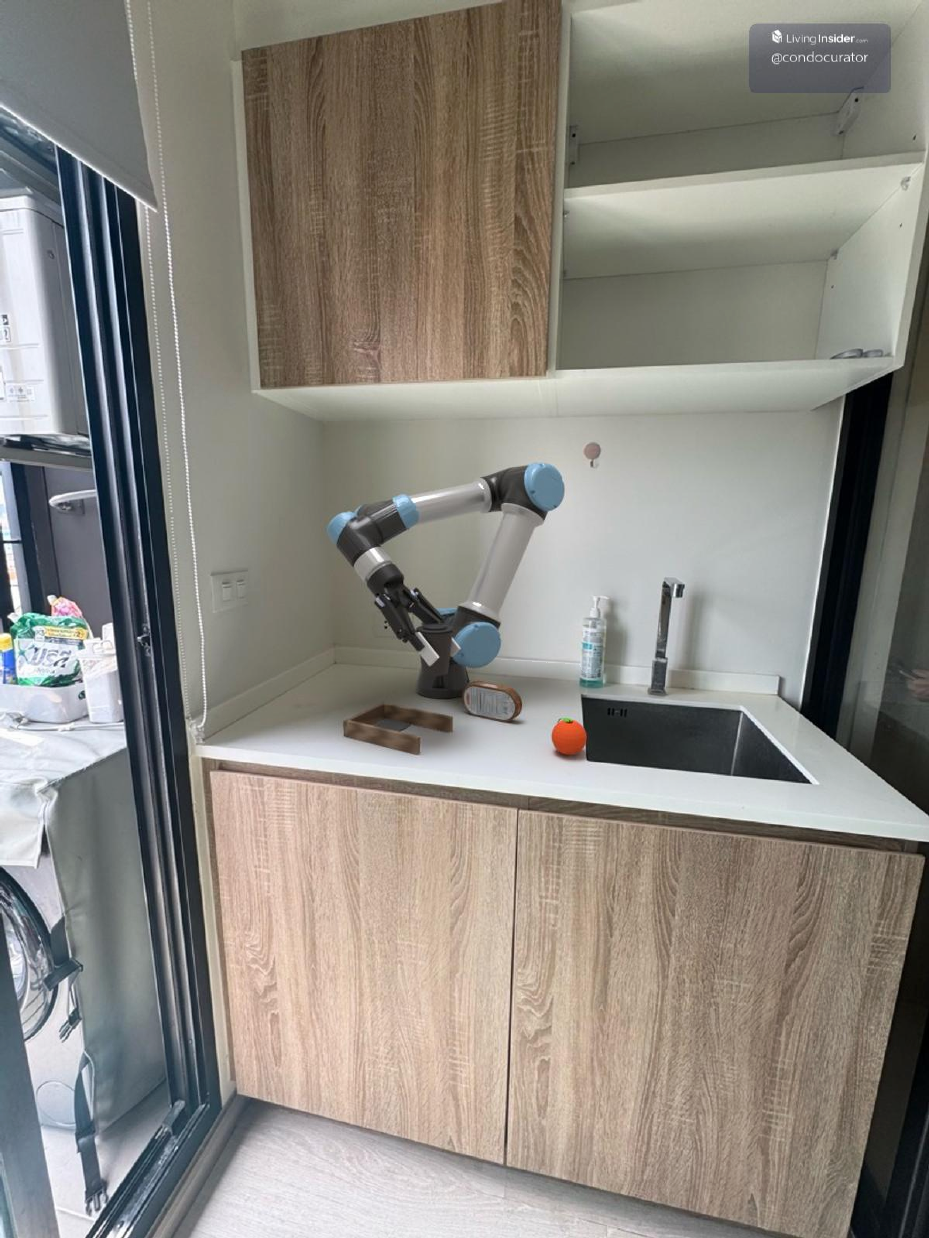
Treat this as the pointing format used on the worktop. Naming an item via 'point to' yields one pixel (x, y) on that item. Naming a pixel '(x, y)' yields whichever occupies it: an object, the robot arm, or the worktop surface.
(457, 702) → the worktop surface
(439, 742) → the worktop surface
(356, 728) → the channel
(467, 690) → the tin
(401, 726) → the pad
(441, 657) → the coffee cup
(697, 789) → the worktop surface
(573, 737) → the clementine
